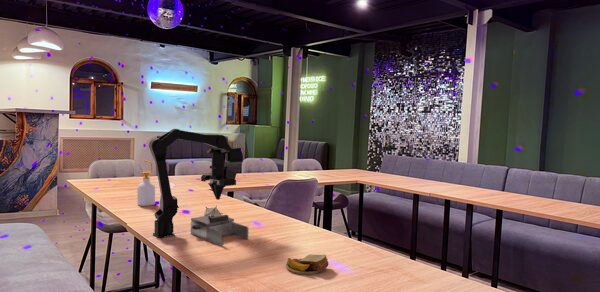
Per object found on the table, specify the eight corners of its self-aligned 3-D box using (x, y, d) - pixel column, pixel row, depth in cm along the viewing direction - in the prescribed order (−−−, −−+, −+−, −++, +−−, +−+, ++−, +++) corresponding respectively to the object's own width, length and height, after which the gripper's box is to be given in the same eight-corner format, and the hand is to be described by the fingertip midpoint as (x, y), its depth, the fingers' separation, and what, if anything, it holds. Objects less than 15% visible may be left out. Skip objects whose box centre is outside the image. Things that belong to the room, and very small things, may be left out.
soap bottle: (136, 203, 231) (136, 159, 229) (154, 202, 235) (154, 158, 233) (138, 206, 223) (137, 160, 221) (155, 205, 227) (156, 160, 225)
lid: (206, 226, 164) (206, 219, 164) (191, 220, 173) (191, 214, 173) (233, 221, 173) (234, 214, 173) (217, 216, 182) (217, 209, 182)
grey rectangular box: (216, 246, 156) (216, 233, 156) (186, 234, 172) (186, 222, 171) (252, 238, 168) (252, 225, 168) (221, 227, 184) (221, 216, 183)
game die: (207, 232, 189) (194, 215, 188) (218, 222, 196) (206, 205, 195) (218, 226, 184) (205, 208, 183) (229, 215, 191) (216, 198, 190)
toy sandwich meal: (300, 259, 145) (301, 246, 144) (334, 268, 137) (334, 254, 136) (278, 269, 135) (278, 255, 134) (312, 280, 127) (312, 264, 126)
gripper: (246, 164, 178) (246, 200, 179) (221, 160, 192) (221, 194, 193) (224, 166, 171) (224, 203, 172) (200, 162, 184) (200, 197, 185)
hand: (217, 199), depth 180 cm, fingers closed
